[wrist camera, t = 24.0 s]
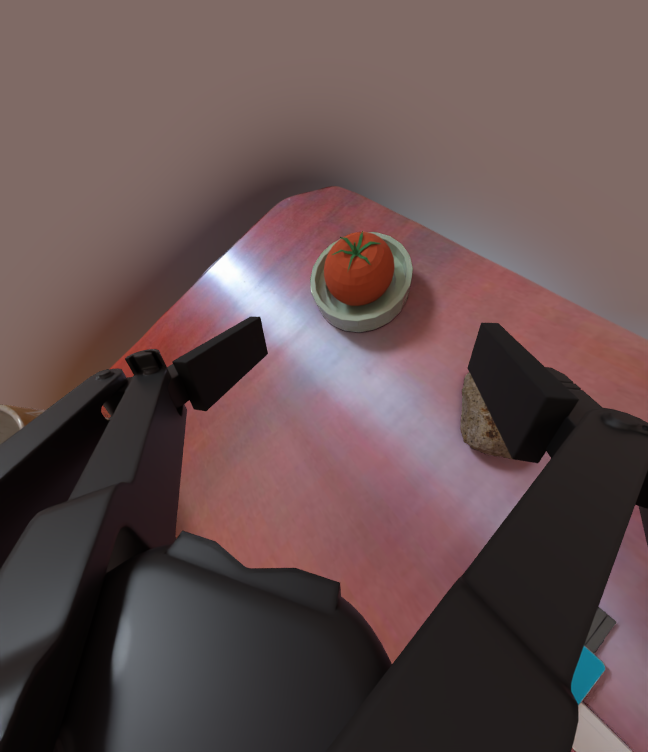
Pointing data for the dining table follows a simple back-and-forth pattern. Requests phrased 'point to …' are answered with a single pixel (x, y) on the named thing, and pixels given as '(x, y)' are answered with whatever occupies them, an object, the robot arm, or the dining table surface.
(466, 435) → the rock
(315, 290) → the bowl
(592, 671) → the blue grey flat device
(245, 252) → the dining table surface
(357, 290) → the tomato
